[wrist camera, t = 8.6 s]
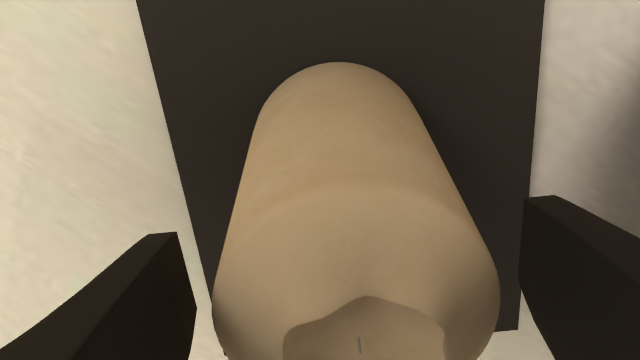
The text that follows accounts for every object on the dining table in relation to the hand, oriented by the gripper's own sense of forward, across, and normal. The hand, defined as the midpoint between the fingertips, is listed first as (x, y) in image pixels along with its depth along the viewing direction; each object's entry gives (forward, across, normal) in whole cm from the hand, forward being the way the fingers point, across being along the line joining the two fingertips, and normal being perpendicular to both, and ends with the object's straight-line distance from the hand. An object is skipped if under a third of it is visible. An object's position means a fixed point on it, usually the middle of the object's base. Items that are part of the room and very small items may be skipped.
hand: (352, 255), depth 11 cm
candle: (+7, 0, 0) cm, 7 cm away
